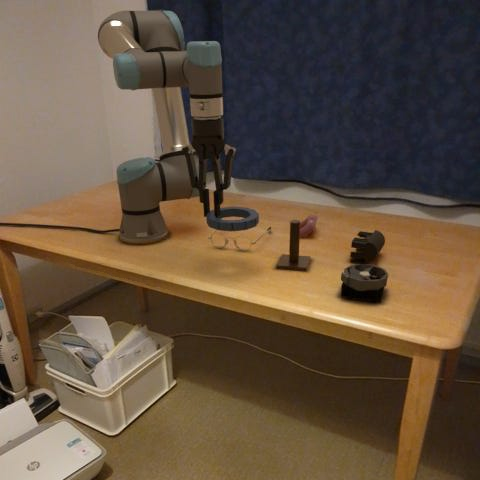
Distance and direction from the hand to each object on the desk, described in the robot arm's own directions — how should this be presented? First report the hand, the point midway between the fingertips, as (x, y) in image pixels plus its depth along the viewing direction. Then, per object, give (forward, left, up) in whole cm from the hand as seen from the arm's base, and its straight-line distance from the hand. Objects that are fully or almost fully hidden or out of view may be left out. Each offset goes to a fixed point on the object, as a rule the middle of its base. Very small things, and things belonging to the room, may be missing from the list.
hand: (212, 215), depth 124 cm
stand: (+21, +6, -14) cm, 26 cm away
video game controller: (+21, +31, -14) cm, 40 cm away
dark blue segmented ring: (+5, 0, -2) cm, 6 cm away
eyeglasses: (+2, +21, -14) cm, 25 cm away
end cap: (+40, +14, -14) cm, 44 cm away
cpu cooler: (+40, -8, -14) cm, 43 cm away
